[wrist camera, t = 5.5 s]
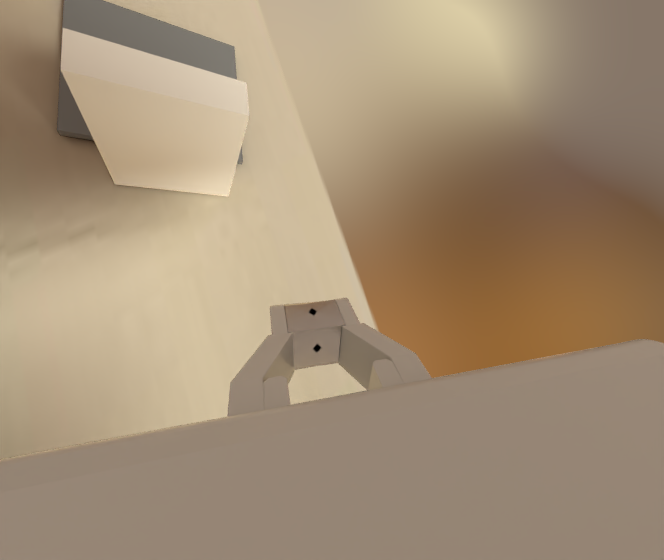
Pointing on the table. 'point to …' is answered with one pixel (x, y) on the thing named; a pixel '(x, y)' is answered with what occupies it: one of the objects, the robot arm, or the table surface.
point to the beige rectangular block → (156, 116)
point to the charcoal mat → (141, 34)
